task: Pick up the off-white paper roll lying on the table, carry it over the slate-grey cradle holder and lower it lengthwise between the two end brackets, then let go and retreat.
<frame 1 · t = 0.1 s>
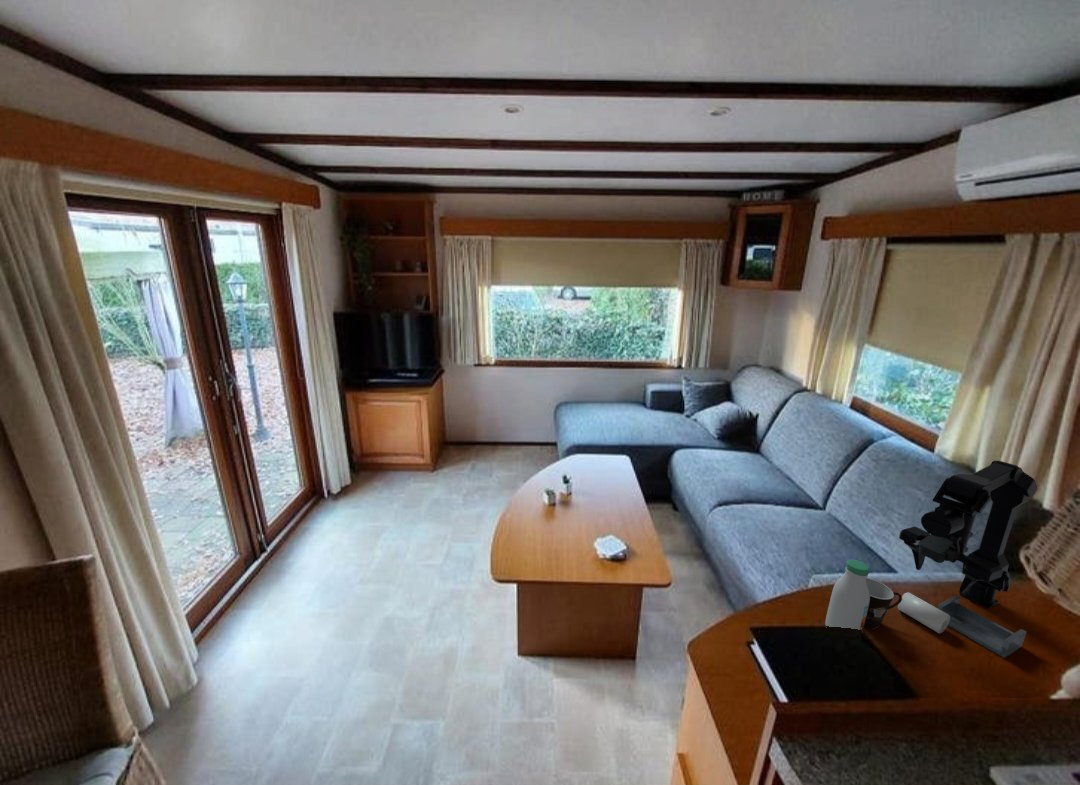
hand: (938, 580, 110), 14 cm above the counter, fingers open, 9 cm apart
cradle holder: (976, 631, 113), on the counter
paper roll: (920, 620, 116), on the counter
coffee mug: (871, 622, 115), on the counter
milk bottle: (842, 631, 112), on the counter
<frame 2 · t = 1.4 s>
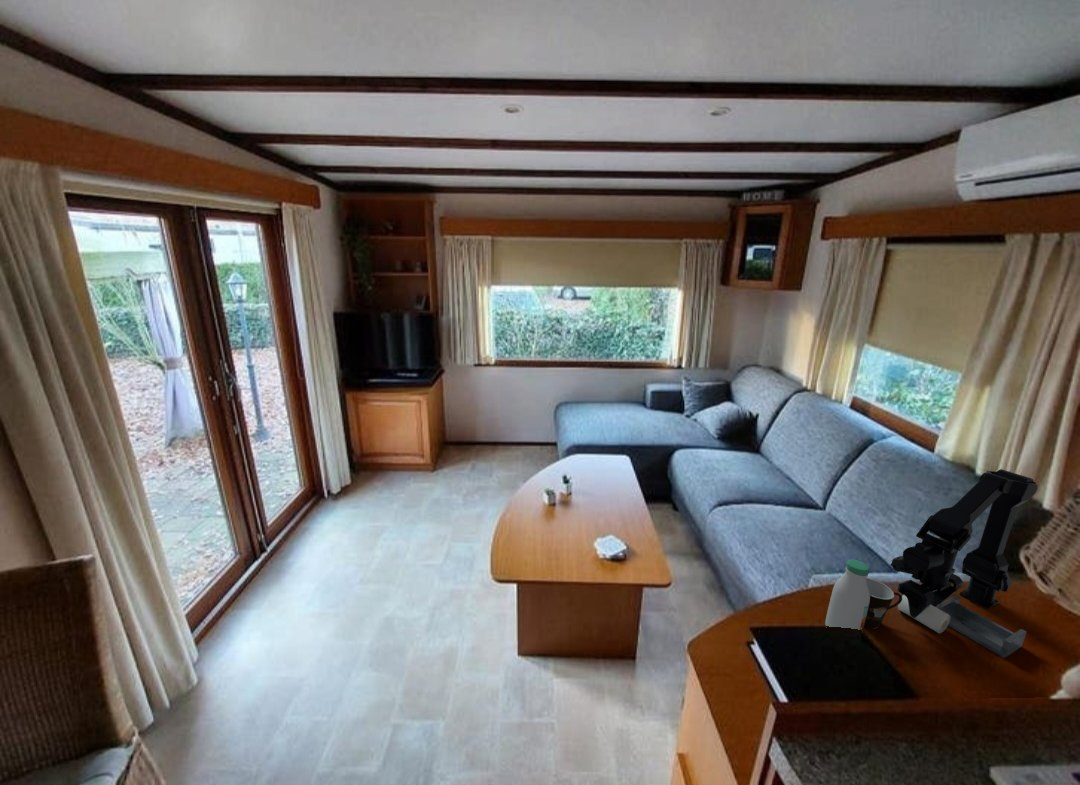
hand: (922, 611, 116), 3 cm above the counter, fingers open, 9 cm apart
coffee mug: (871, 622, 115), on the counter, touching gripper
everything else where it was.
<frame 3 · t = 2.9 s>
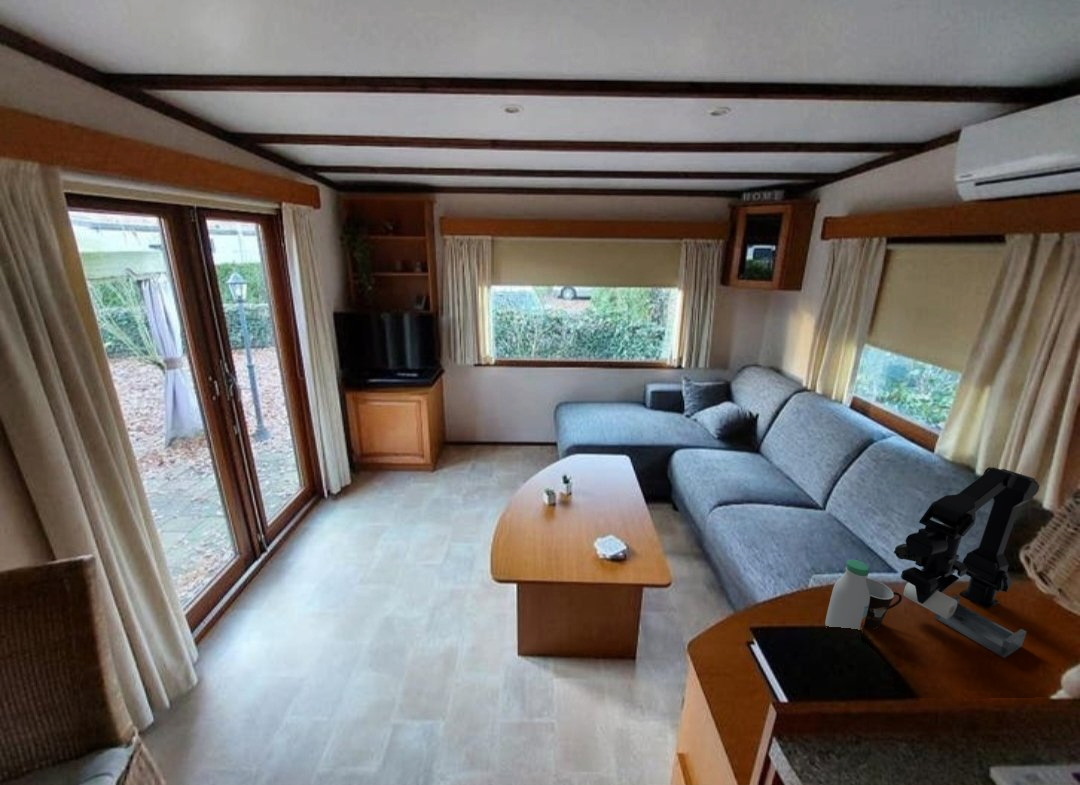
hand: (926, 599, 114), 7 cm above the counter, fingers closed on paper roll, 5 cm apart
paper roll: (926, 607, 114), point 5 cm above the counter, tilted 10°, touching gripper
coffee mug: (871, 622, 115), on the counter
everything else where it was.
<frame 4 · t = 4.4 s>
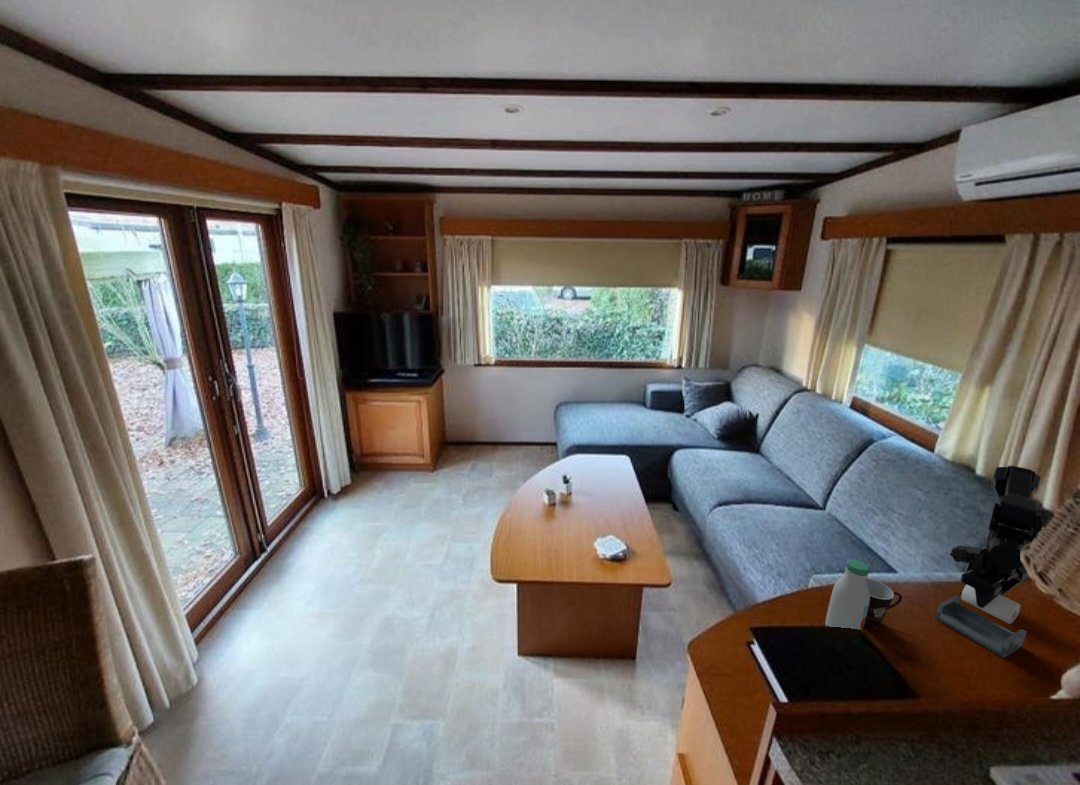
hand: (985, 603, 110), 9 cm above the counter, fingers closed on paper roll, 5 cm apart
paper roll: (986, 611, 110), point 7 cm above the counter, tilted 10°, touching gripper
everything else where it was.
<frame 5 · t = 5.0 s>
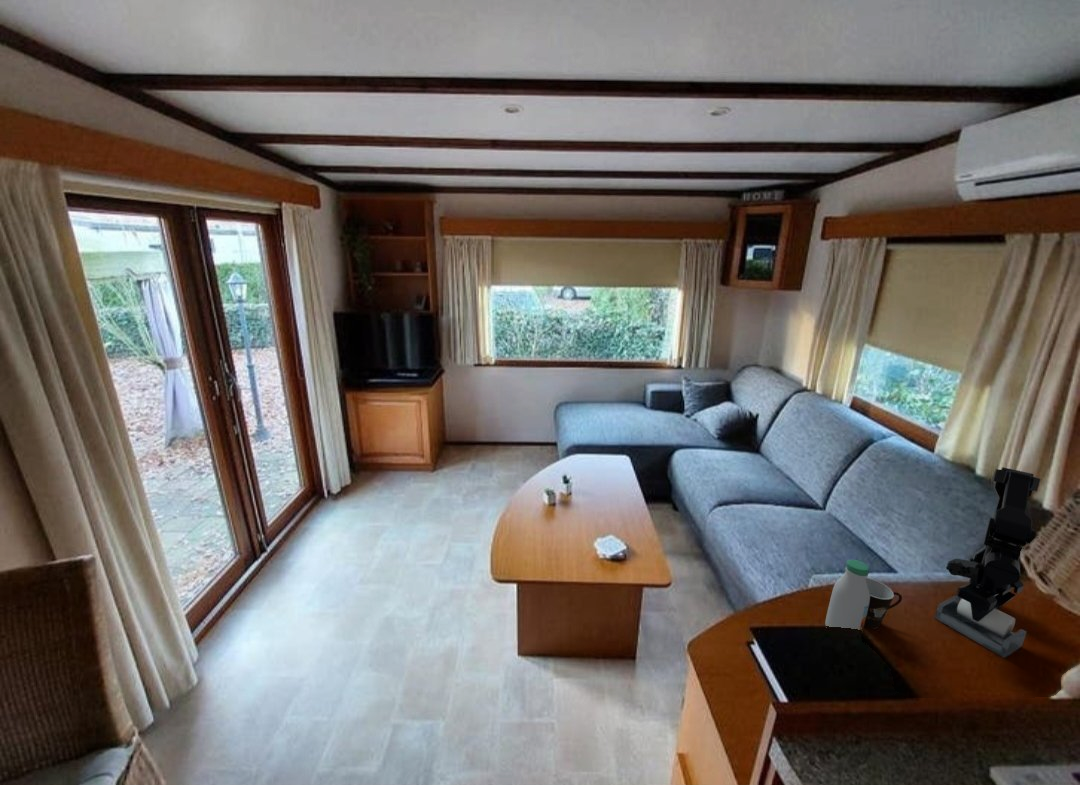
hand: (981, 616, 111), 5 cm above the counter, fingers closed on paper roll, 5 cm apart
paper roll: (981, 625, 111), point 3 cm above the counter, tilted 10°, touching gripper
everything else where it was.
when the fingers open (4 cm above the counter, at t = 5.7 s): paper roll stays where it is, resting on cradle holder.
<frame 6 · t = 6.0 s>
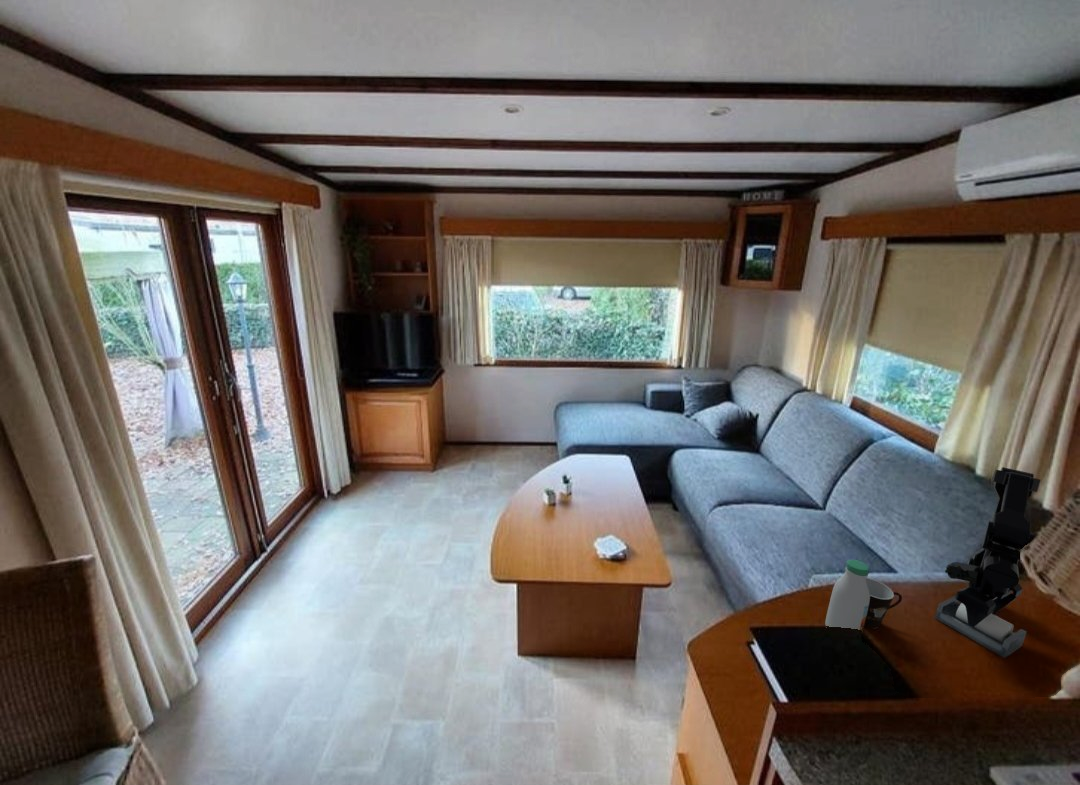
hand: (980, 620, 112), 4 cm above the counter, fingers open, 9 cm apart
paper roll: (979, 630, 112), point 1 cm above the counter, tilted 11°, touching cradle holder
everything else where it was.
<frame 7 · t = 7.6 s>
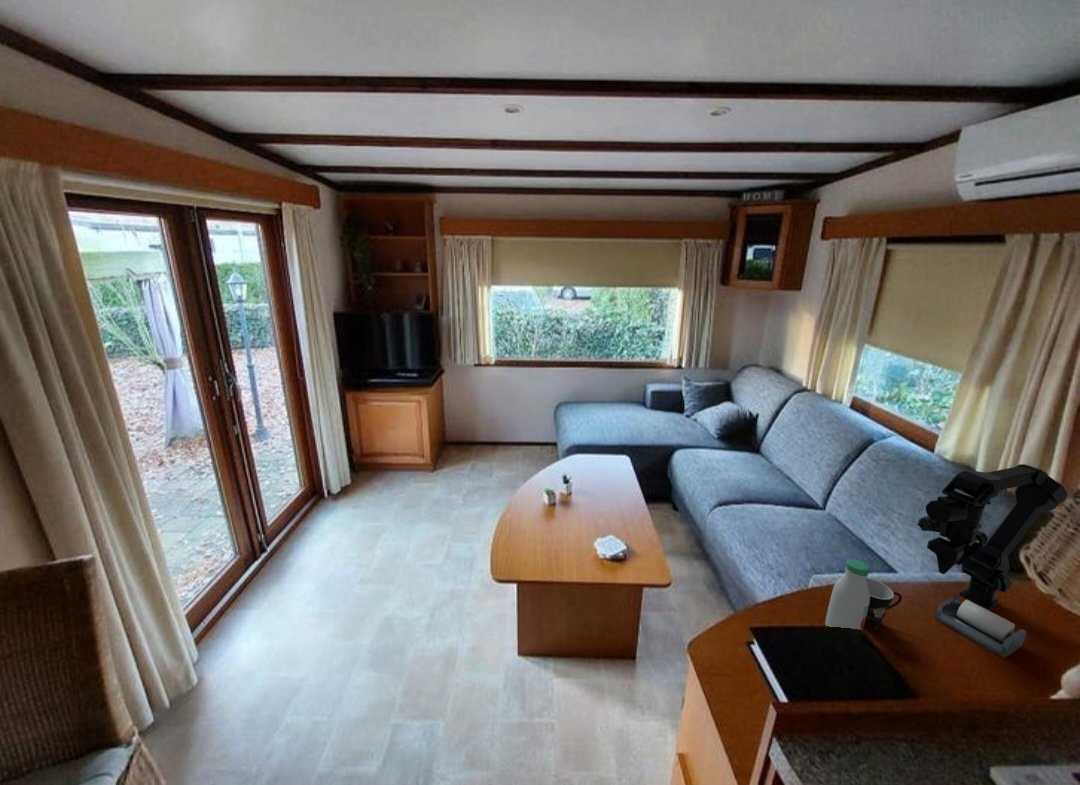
hand: (949, 568, 119), 12 cm above the counter, fingers open, 9 cm apart
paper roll: (980, 630, 111), point 1 cm above the counter, tilted 25°, touching cradle holder
everything else where it was.
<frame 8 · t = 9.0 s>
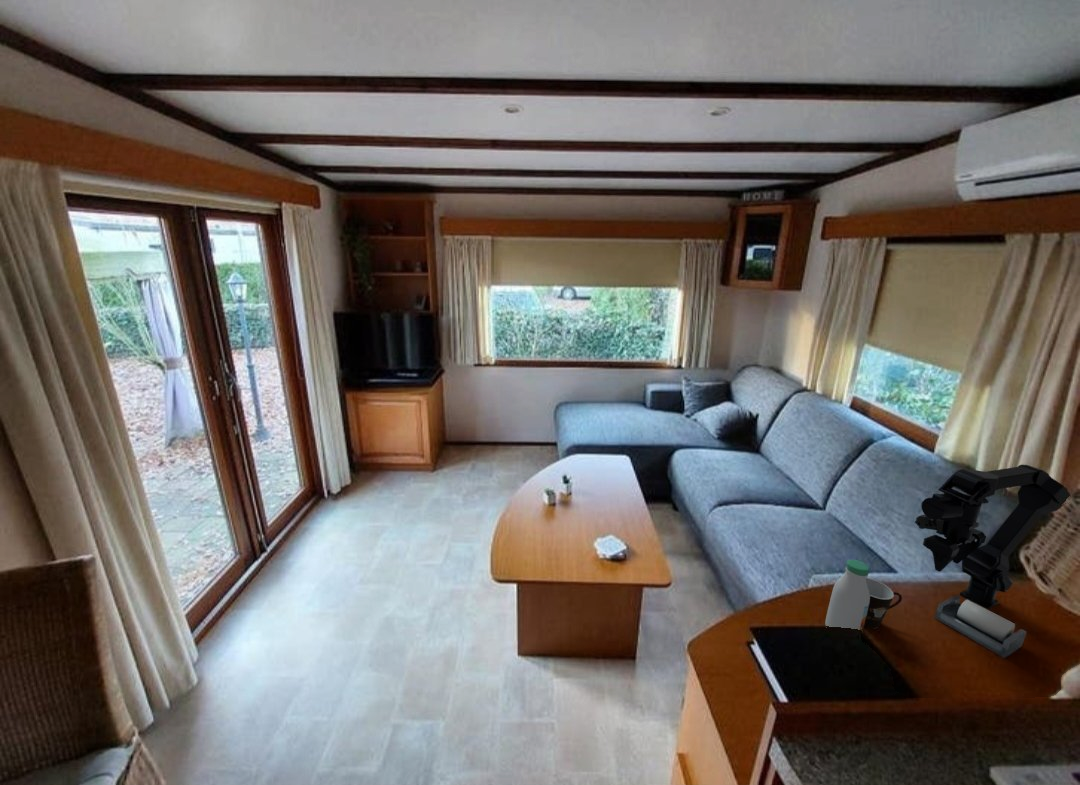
hand: (946, 566, 120), 12 cm above the counter, fingers open, 9 cm apart
nothing on the counter moved.
at the end: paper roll 0.7 cm off-centre on the cradle holder, point 1.3 cm above the cradle holder's base; the gripper is holding nothing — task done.
